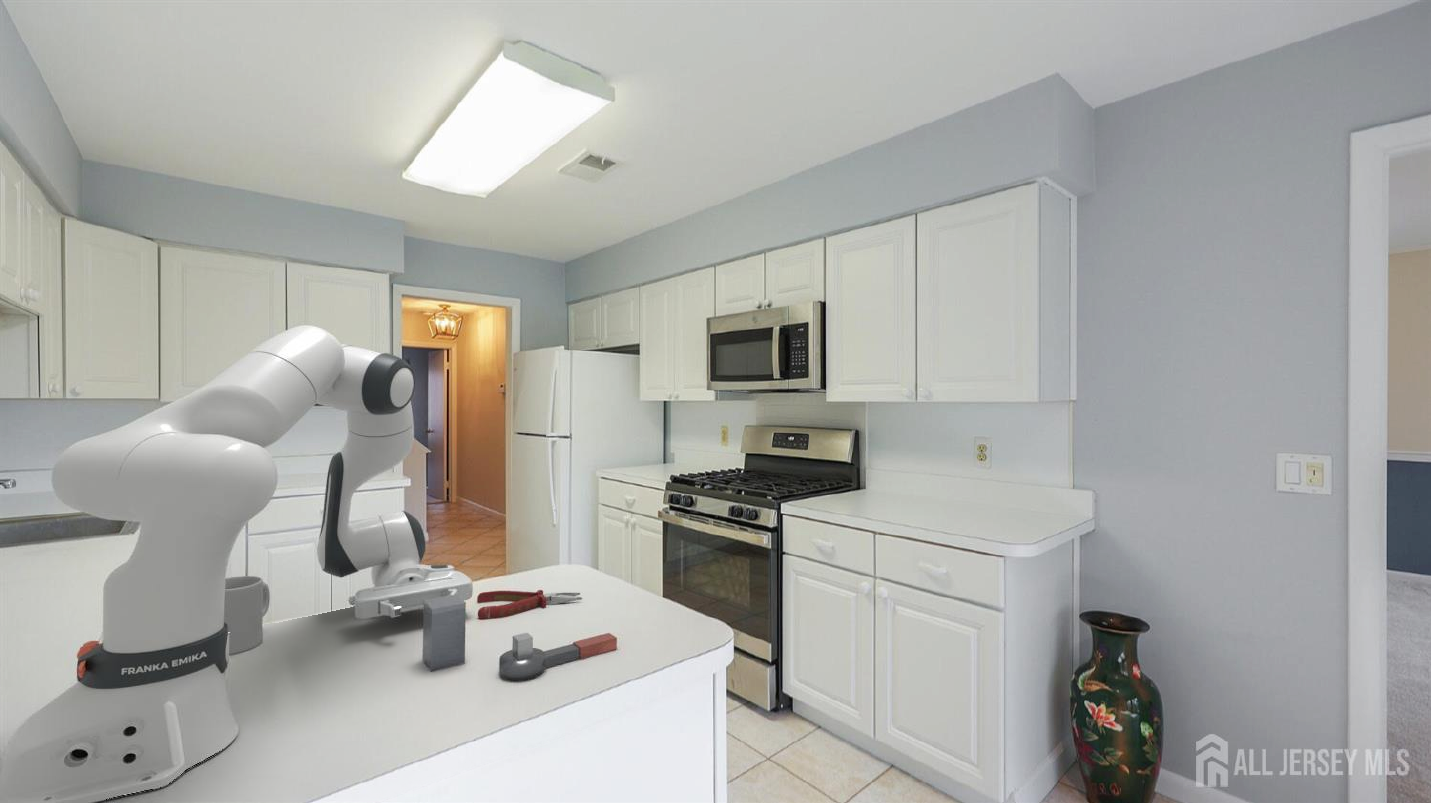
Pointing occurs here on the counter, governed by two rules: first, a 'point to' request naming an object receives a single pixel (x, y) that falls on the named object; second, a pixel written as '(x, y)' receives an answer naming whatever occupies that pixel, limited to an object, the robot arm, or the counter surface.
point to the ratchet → (547, 655)
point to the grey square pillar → (444, 632)
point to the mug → (245, 611)
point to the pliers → (519, 602)
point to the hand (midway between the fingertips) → (425, 607)
